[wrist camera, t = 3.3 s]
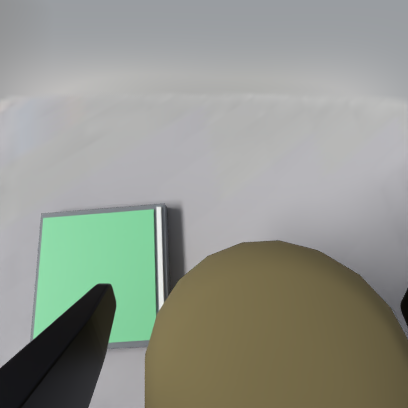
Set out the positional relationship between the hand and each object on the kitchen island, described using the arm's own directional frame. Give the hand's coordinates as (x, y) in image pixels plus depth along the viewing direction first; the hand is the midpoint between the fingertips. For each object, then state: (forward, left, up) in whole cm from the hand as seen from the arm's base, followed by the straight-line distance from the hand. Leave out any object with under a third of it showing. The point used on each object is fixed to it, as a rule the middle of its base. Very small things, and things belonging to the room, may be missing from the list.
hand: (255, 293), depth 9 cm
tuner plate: (+1, +7, -7) cm, 10 cm away
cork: (-1, 0, -7) cm, 7 cm away
